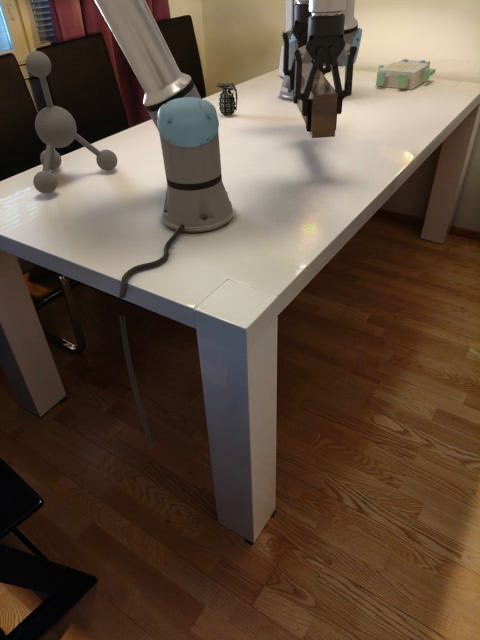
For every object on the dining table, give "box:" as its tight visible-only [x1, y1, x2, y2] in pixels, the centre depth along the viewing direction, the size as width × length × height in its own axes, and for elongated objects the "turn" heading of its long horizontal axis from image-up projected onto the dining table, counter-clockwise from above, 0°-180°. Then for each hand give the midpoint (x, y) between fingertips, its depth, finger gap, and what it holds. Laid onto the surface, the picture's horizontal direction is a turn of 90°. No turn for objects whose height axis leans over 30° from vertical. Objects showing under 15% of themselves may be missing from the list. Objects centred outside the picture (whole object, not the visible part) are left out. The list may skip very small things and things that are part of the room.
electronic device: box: [278, 0, 295, 79], centre depth 202 cm, size 12×8×30 cm, turn 105°
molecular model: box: [25, 50, 118, 195], centre depth 121 cm, size 24×22×30 cm
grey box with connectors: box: [375, 58, 437, 90], centre depth 192 cm, size 26×6×20 cm
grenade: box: [215, 82, 238, 117], centre depth 166 cm, size 7×6×10 cm
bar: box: [296, 63, 338, 139], centre depth 122 cm, size 34×5×9 cm, turn 2°
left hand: (320, 129), depth 114 cm, fingers closed on bar, 5 cm apart
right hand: (305, 101), depth 135 cm, fingers closed on bar, 5 cm apart
